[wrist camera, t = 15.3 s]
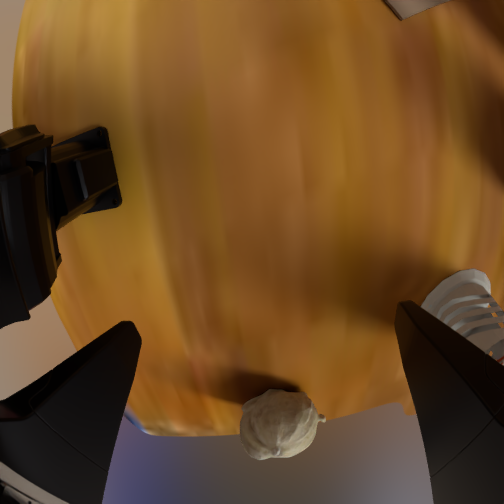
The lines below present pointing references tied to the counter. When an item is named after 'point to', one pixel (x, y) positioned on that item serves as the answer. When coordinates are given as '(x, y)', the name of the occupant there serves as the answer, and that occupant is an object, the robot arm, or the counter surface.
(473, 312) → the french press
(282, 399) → the garlic bulb
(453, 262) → the counter surface
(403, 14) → the flat taupe board
